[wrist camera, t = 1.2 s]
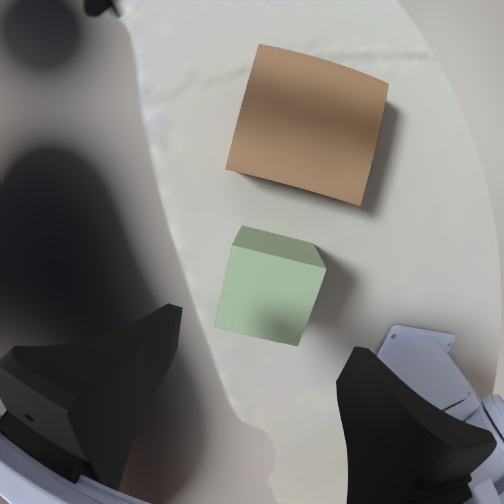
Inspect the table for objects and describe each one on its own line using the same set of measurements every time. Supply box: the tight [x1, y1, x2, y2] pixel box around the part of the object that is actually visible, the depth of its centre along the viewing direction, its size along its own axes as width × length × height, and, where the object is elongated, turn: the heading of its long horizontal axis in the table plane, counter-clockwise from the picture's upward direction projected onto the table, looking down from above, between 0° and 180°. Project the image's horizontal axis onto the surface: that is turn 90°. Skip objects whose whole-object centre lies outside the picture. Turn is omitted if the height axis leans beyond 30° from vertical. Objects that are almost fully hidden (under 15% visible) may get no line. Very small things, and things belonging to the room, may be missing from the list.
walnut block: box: [226, 44, 389, 206], centre depth 16 cm, size 8×8×3 cm
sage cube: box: [214, 226, 326, 346], centre depth 17 cm, size 5×5×5 cm
